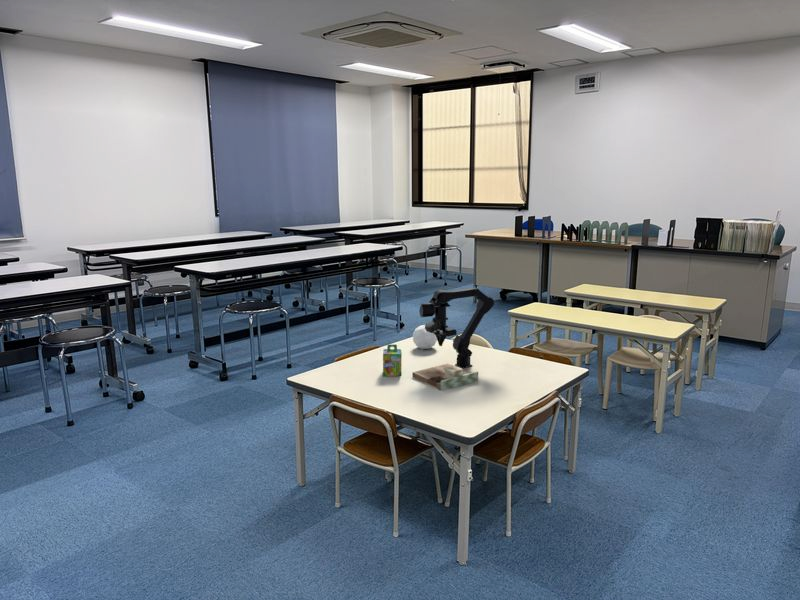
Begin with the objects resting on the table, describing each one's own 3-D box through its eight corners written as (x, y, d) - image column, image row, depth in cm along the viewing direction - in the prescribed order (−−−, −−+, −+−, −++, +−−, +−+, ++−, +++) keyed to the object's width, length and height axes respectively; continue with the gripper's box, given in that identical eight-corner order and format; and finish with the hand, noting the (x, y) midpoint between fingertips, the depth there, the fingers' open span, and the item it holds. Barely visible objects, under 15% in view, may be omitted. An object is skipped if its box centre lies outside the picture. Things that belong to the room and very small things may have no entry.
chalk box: (383, 377, 280) (382, 348, 277) (383, 371, 289) (382, 342, 286) (401, 376, 280) (401, 347, 277) (401, 370, 289) (401, 342, 286)
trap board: (447, 368, 291) (447, 359, 290) (478, 380, 273) (478, 371, 272) (412, 377, 279) (412, 368, 278) (442, 390, 261) (442, 381, 260)
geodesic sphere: (424, 332, 338) (416, 316, 328) (445, 335, 330) (437, 319, 320) (413, 352, 330) (404, 336, 321) (434, 356, 322) (426, 340, 313)
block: (454, 375, 274) (454, 365, 273) (462, 378, 269) (462, 369, 268) (444, 377, 271) (444, 368, 270) (453, 381, 266) (453, 371, 265)
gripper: (416, 314, 289) (416, 344, 292) (439, 321, 273) (439, 353, 277) (433, 311, 295) (433, 340, 298) (457, 318, 280) (457, 348, 283)
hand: (440, 345), depth 289 cm, fingers closed
